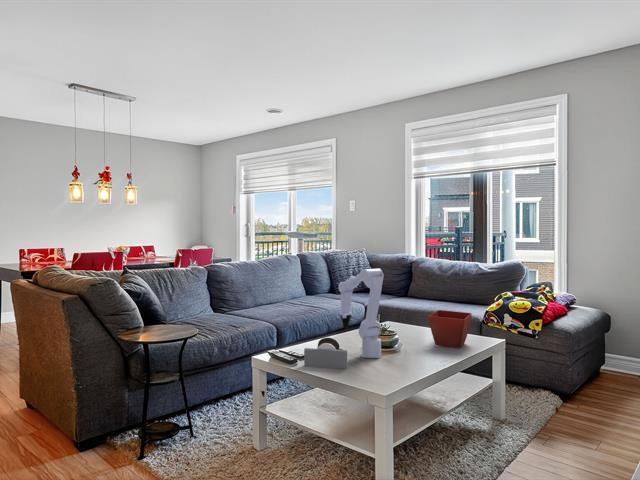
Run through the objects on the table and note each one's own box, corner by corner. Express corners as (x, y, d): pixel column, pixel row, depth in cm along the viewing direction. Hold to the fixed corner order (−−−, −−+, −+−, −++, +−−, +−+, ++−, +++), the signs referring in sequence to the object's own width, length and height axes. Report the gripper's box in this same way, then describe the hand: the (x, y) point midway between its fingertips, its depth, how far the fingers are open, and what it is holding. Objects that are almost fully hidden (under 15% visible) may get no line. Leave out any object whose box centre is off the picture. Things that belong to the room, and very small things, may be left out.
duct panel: (347, 366, 216) (347, 344, 215) (346, 368, 213) (346, 346, 212) (305, 364, 220) (305, 342, 220) (304, 366, 217) (304, 343, 216)
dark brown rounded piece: (342, 350, 216) (346, 337, 231) (310, 350, 219) (316, 337, 234) (344, 369, 218) (348, 355, 233) (313, 369, 221) (318, 355, 236)
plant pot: (464, 351, 241) (464, 319, 240) (427, 346, 251) (428, 315, 250) (471, 343, 258) (472, 312, 257) (437, 338, 267) (437, 309, 267)
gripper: (340, 301, 259) (340, 325, 260) (336, 305, 245) (336, 331, 246) (353, 301, 258) (353, 326, 258) (349, 306, 244) (349, 332, 244)
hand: (346, 328), depth 252 cm, fingers closed
